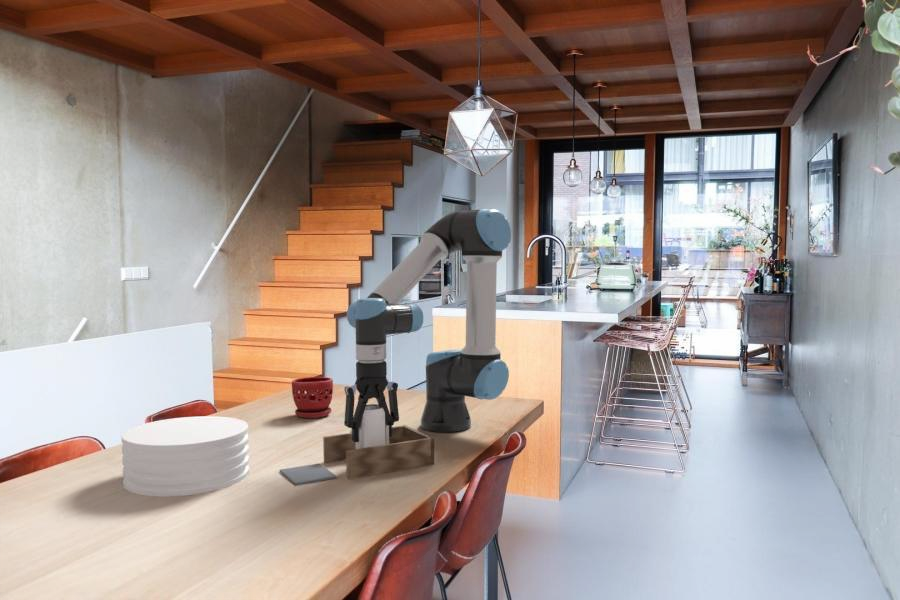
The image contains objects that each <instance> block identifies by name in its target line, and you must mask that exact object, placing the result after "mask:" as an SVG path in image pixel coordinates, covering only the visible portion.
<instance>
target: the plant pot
mask: <svg viewBox="0 0 900 600" xmlns="http://www.w3.org/2000/svg"><path fill="white" fill-rule="evenodd" d="M333 381H334V380H333V378H331V377H327V376H309V377H300V378H296V379H292V380H291V392H292V398H293V399H292V400H293V402H294V404H295V407H296V408H297V409H294V411H295V415H296V416H298V417H300V418H305V419H316V418H318V419H319V417H321V418H323V417H326V416H328V415H329V414H331V412H332V407H330V405H331V402H332V400H333V393H334V382H333ZM305 392H306V393H305Z"/></svg>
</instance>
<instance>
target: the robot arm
mask: <svg viewBox="0 0 900 600" xmlns="http://www.w3.org/2000/svg"><path fill="white" fill-rule="evenodd" d="M511 240H512V230H511V225H510V222H509V220H508V218H507V217H506V216H505V215H504V214H503V213H502V211H499V210H498V209H490V208H484V209H483V208H481V209H469V210H456V211H452V212H450V213H448V214H446V215H444V216H443V217H441V218H440V219H439V220H437V221H436V222H434V224H432V225H431V226H430V227H428V228H427V230H426V231H424V233H423V234H422V235H421V236H420V241H419V243H418V244H417V245H416V246H415V247H414V248H413V250H411V251H410V252H409V254H407V255H406V257H404V259H402V261H401V262H400V263H399V264H398V265H397V266H396V267H395V268H394V269H393V270H392V271H391V272H390V273H389V274H388V275H387V276H386V277H385V278H384V279H383V280H382V281H381V283H380V284H378V286H377V287H376V288H375V289H373V291H372V292H371V293H370V294H369V295H368V296H367V297H364V298H359V299H357V300H356V301H354V302H352V303H351V304H350V305H349V306H348V308H347V311H346V320H347V322H348V324H349V325H350V326H351V327H352V328H354V330H355V360H357V361H356V363H355V378H356V380H355V382H354V384H353V385H351V386H348V385H347V386H345V387H344V393H345V408H344V409H345V410H344V411H345V412H344V423H343V426H344V427H347V428H349V429H352V440H353V442H355V447H356V449H360V448H363V433H362V429H360V428H359V427H360V424H361V421H362V417H363V414H364V410H365V407H366V405H368V403H369V400H371V399H374V398H375V400H376V402H377V404H378V405H379V406H380V407H383V409H384V412H385V445H386V444H389V437H391V436H392V427H393V425H394V424H395V423H397V422H399V420H400V413H399V402H398V394H397V392H398V387H399V384H398V383H397V382H395V381H388V379H387V371H388V369H387V366H388V365H387V364H388V363H387V362H386V359H387V336H390V335H398V334H410V333H415V332H417V331H419V330H420V329H421V328H422V326H423V324H424V312H423V310H422V308H421V307H420V306H419V305H418V304H416V303H407V302H405V303H401V302H402V301H403V300H404V298H406V296H407V295H409V293H410V292H411V291H412V290H413V289H414V288H415V287H417V284H419V283H420V282H421V280H423V278H424V277H425V276H426V275H427V274H428V273H429V272H430V271H431V270H432V269H433V268H434V267H435V266H436V264H437V263H438V262H439V261H442V260H445V259H446V258H447V257H448V256H449V255H450V254H452V253H454V252H459V251H460V252H461V258H462V259H463V260H464V261H465V262H466V287H465V288H466V291H465V292H466V295H465V296H466V298H465V303H466V304H465V305H466V306H465V307H466V308H465V309H466V310H465V346H464V347H463V348H462V349H449V350H448V349H447V350H440V351H433V352H430V353H428V354H427V356H426V361H425V362H426V363H425V385H426V386H425V387H426V388H425V389H426V390H425V391H426V394H425V395H426V399H425V400H426V402H425V405H424V409H423V412H422V414H421V418H420V428H421V429H423V430H425V431H429V432H436V433H437V432H438V433H454V432H461V431H465V430H469V428H471V425H472V424H471V423H472V421H471V420H472V419H471V415H470V413H469V410H468V406H467V404H466V397H468V398H474V399H478V400H480V401H481V400H487V401H488V400H489V401H491V400H494V399H497V398H499V396H501V395H502V394H503V392H504V391H505V389H506V388H507V385H508V382H509V378H510V375H509V373H510V372H509V371H510V370H509V366H507V364H506V362H505V361H504V360H502V359H501V354H502V353H501V350H499V349H498V348H497V345H496V339H497V338H496V333H497V331H496V330H497V329H496V328H497V326H496V325H497V269H498V268H497V267H498V262H499V261H500V260H501V259H502V258H503V251H504V250H505V249H507V248H508V247H509V244H510V243H511ZM386 389H387V390H388V391H387V392H388V393H387V394H388V403H387V401H386V396H385V392H384V391H386ZM356 391H358V393H359V394H358V397H357V400H358V401H357V403H356V408H355V400H356V399H355V395H356V393H357V392H356ZM388 404H389V405H388ZM388 406H389V407H388ZM354 411H355V412H354Z"/></svg>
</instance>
